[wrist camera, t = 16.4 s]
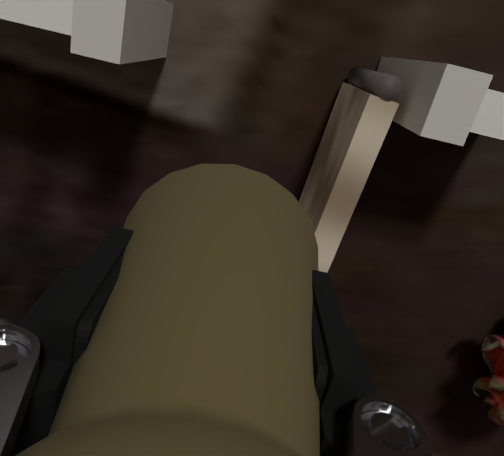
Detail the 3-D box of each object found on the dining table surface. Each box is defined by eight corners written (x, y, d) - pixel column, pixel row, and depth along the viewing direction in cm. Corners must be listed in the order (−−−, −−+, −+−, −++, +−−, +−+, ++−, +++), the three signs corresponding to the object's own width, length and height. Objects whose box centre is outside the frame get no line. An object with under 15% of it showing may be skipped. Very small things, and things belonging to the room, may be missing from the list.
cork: (182, 363, 15) (25, 1050, 5) (80, 216, 13) (-603, 894, 3) (347, 298, 14) (603, 1010, 4) (266, 125, 12) (335, 684, 2)
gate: (349, 63, 26) (379, 70, 20) (384, 75, 27) (424, 85, 20) (286, 233, 31) (294, 283, 24) (316, 242, 31) (332, 294, 25)
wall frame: (501, 86, 27) (626, 108, 18) (481, 133, 28) (588, 175, 19) (1, -39, 25) (-148, -88, 16) (2, 17, 26) (-137, 3, 17)
